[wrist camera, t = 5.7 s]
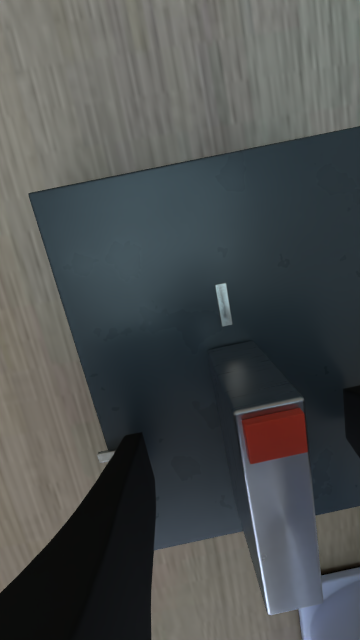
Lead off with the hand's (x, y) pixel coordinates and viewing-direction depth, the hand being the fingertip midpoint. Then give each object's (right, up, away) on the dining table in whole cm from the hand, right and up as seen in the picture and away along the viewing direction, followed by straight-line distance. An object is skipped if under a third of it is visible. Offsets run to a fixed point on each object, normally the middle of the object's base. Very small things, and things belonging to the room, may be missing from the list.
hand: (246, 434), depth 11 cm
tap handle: (0, 0, 0) cm, 0 cm away
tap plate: (-1, +3, +3) cm, 4 cm away
